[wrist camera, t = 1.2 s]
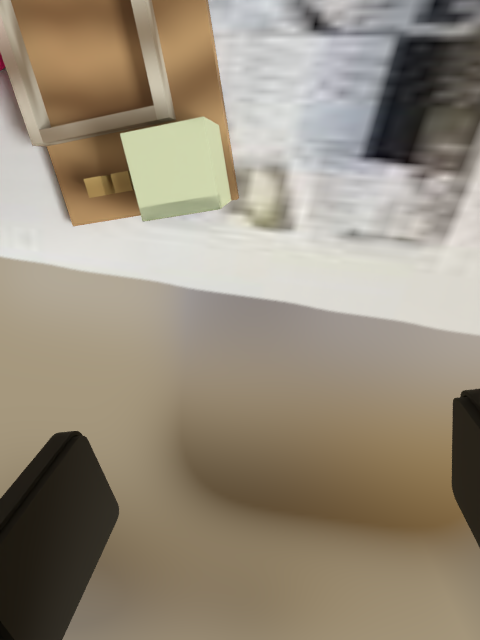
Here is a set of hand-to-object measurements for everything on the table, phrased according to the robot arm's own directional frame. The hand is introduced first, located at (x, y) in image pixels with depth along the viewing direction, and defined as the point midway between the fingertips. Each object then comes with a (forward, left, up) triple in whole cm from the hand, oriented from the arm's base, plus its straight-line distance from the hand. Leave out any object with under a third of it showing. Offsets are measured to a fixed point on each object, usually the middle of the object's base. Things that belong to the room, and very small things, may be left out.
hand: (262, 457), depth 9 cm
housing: (-7, -7, -26) cm, 28 cm away
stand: (-14, -11, -28) cm, 33 cm away
